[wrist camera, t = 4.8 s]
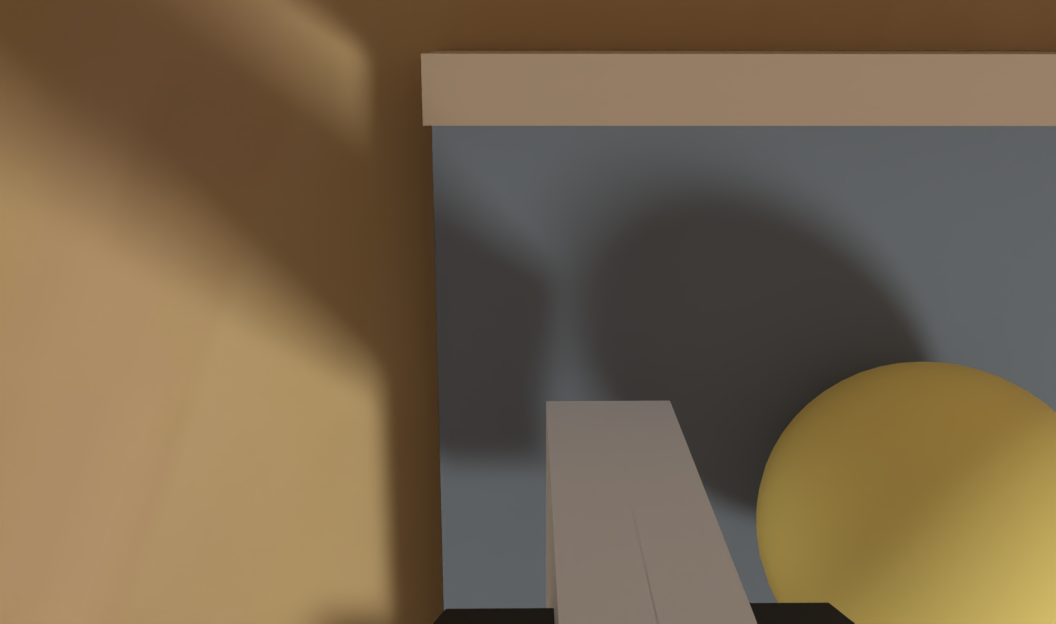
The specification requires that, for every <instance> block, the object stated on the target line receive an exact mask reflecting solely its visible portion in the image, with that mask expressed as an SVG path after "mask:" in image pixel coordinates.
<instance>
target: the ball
mask: <svg viewBox="0 0 1056 624" xmlns="http://www.w3.org/2000/svg"><path fill="white" fill-rule="evenodd" d="M756 529H757V540H758V547H759V554H760V558H761V561H762V564H763V568H764V571H765V574H766V577H767V580H768V583H769V586H770V588H771V590H772V592H773V594H774V596H775V598H776V601H777V603H830V604H831V605H832V606H834V607H835V608H836V609H837V610H839V611H840V612H841V613H842V614H844V615H845V616H846V617H847V618H849V619H850V620H851V621H852V622H854V623H855V624H1056V412H1055V411H1054V410H1052V409H1051V408H1050V407H1049V406H1048V405H1047V404H1045V403H1044V402H1043V401H1041V400H1040V399H1038V398H1037V397H1035V396H1034V395H1032V394H1031V393H1030V392H1028V391H1026V390H1024V389H1022V388H1021V387H1019V386H1017V385H1015V384H1013V383H1011V382H1009V381H1007V380H1005V379H1003V378H1001V377H999V376H996V375H993V374H990V373H987V372H984V371H981V370H978V369H974V368H971V367H967V366H961V365H956V364H951V363H942V362H906V363H896V364H890V365H885V366H880V367H876V368H873V369H870V370H867V371H863V372H860V373H858V374H856V375H853V376H851V377H849V378H847V379H845V380H842V381H840V382H839V383H837V384H835V385H834V386H832V387H830V388H829V389H827V390H825V391H824V392H823V393H821V394H820V395H819V396H817V397H816V398H815V399H814V400H812V401H811V402H810V403H808V404H807V405H806V406H805V407H804V408H803V409H802V410H801V411H800V412H799V413H798V414H797V415H796V416H795V417H794V419H793V420H792V421H791V422H790V424H789V425H788V426H787V427H786V429H785V430H784V431H783V433H782V434H781V436H780V438H779V439H778V441H777V443H776V444H775V446H774V448H773V450H772V452H771V454H770V456H769V459H768V461H767V463H766V466H765V469H764V473H763V476H762V480H761V484H760V488H759V493H758V500H757V507H756Z"/></svg>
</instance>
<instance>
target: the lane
mask: <svg viewBox="0 0 1056 624" xmlns="http://www.w3.org/2000/svg"><path fill="white" fill-rule="evenodd" d="M421 80H422V117H423V126H432V154H433V195H434V235H435V276H436V316H437V357H438V397H439V438H440V479H441V519H442V560H443V600H444V611H445V609H477V608H546V401H670V402H671V405H672V407H673V410H674V412H675V415H676V417H677V420H678V423H679V425H680V428H681V430H682V433H683V435H684V438H685V440H686V443H687V445H688V448H689V451H690V453H691V456H692V458H693V461H694V463H695V466H696V468H697V471H698V474H699V476H700V479H701V481H702V484H703V486H704V489H705V491H706V494H707V496H708V499H709V502H710V504H711V507H712V509H713V512H714V514H715V517H716V519H717V522H718V524H719V527H720V530H721V532H722V535H723V537H724V540H725V542H726V545H727V547H728V550H729V553H730V555H731V558H732V560H733V563H734V565H735V568H736V570H737V573H738V575H739V578H740V581H741V583H742V586H743V588H744V591H745V593H746V596H747V598H748V601H749V603H777V601H776V598H775V596H774V594H773V592H772V590H771V588H770V586H769V583H768V580H767V577H766V574H765V571H764V568H763V564H762V561H761V558H760V554H759V547H758V540H757V529H756V507H757V500H758V493H759V488H760V484H761V480H762V476H763V473H764V469H765V466H766V463H767V461H768V459H769V456H770V454H771V452H772V450H773V448H774V446H775V444H776V443H777V441H778V439H779V438H780V436H781V434H782V433H783V431H784V430H785V429H786V427H787V426H788V425H789V424H790V422H791V421H792V420H793V419H794V417H795V416H796V415H797V414H798V413H799V412H800V411H801V410H802V409H803V408H804V407H805V406H806V405H807V404H808V403H810V402H811V401H812V400H814V399H815V398H816V397H817V396H819V395H820V394H821V393H823V392H824V391H825V390H827V389H829V388H830V387H832V386H834V385H835V384H837V383H839V382H840V381H842V380H845V379H847V378H849V377H851V376H853V375H856V374H858V373H860V372H863V371H867V370H870V369H873V368H876V367H880V366H885V365H890V364H896V363H906V362H942V363H951V364H956V365H961V366H967V367H971V368H974V369H978V370H981V371H984V372H987V373H990V374H993V375H996V376H999V377H1001V378H1003V379H1005V380H1007V381H1009V382H1011V383H1013V384H1015V385H1017V386H1019V387H1021V388H1022V389H1024V390H1026V391H1028V392H1030V393H1031V394H1032V395H1034V396H1035V397H1037V398H1038V399H1040V400H1041V401H1043V402H1044V403H1045V404H1047V405H1048V406H1049V407H1050V408H1051V409H1052V410H1054V411H1055V412H1056V51H432V52H426V53H421Z"/></svg>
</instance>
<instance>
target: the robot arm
mask: <svg viewBox="0 0 1056 624" xmlns="http://www.w3.org/2000/svg"><path fill="white" fill-rule="evenodd" d="M434 624H855V623H854V622H852V621H851V620H850V619H849V618H847V617H846V616H845V615H844V614H842V613H841V612H840V611H839V610H837V609H836V608H835V607H834V606H832V605H831V604H830V603H749V601H748V598H747V596H746V593H745V591H744V588H743V586H742V583H741V581H740V578H739V575H738V573H737V570H736V568H735V565H734V563H733V560H732V558H731V555H730V553H729V550H728V547H727V545H726V542H725V540H724V537H723V535H722V532H721V530H720V527H719V524H718V522H717V519H716V517H715V514H714V512H713V509H712V507H711V504H710V502H709V499H708V496H707V494H706V491H705V489H704V486H703V484H702V481H701V479H700V476H699V474H698V471H697V468H696V466H695V463H694V461H693V458H692V456H691V453H690V451H689V448H688V445H687V443H686V440H685V438H684V435H683V433H682V430H681V428H680V425H679V423H678V420H677V417H676V415H675V412H674V410H673V407H672V405H671V402H670V401H546V608H477V609H445V611H444V612H443V613H442V614H441V615H440V616H439V618H438V619H437V620H436V621H435V622H434Z"/></svg>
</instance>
